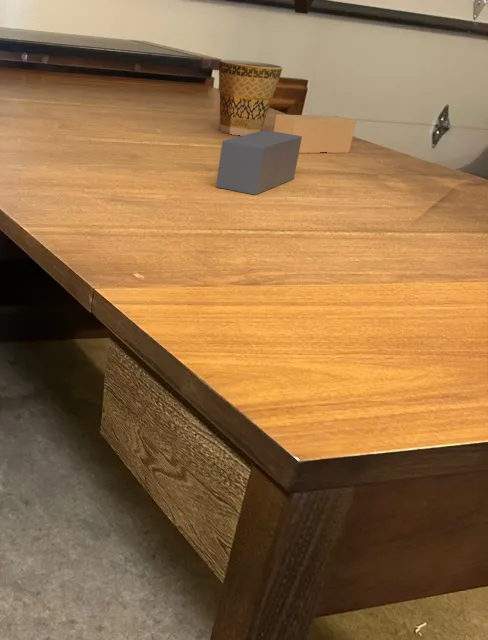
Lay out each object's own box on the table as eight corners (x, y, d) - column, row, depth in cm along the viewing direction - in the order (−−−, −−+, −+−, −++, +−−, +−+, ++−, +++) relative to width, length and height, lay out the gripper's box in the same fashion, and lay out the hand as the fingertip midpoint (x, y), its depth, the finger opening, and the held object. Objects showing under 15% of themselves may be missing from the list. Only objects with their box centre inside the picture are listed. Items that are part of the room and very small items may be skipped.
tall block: (336, 115, 128) (276, 114, 122) (356, 120, 124) (295, 119, 119) (329, 147, 130) (270, 147, 125) (349, 152, 127) (289, 153, 122)
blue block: (264, 129, 103) (222, 140, 93) (302, 136, 101) (263, 147, 91) (257, 172, 106) (215, 187, 96) (293, 179, 104) (255, 195, 94)
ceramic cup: (267, 141, 130) (279, 69, 124) (205, 132, 131) (214, 61, 126) (275, 130, 140) (286, 64, 135) (218, 123, 142) (227, 57, 136)
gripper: (427, -126, 97) (356, 36, 94) (322, -130, 102) (251, 24, 99) (432, -195, 90) (356, -22, 87) (318, -196, 95) (242, -32, 92)
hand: (300, 2), depth 93 cm, fingers closed
